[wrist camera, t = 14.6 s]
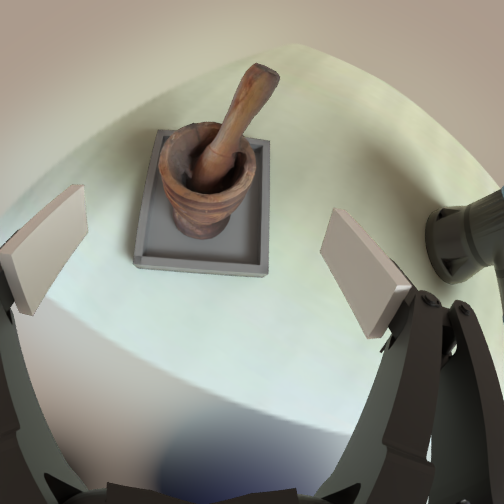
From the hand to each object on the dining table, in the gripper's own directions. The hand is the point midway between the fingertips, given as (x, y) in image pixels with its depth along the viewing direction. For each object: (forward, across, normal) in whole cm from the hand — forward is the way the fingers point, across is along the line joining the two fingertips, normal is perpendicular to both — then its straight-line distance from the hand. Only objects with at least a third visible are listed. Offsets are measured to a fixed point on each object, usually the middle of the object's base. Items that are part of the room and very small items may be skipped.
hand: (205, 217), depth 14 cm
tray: (+22, 0, -8) cm, 24 cm away
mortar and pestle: (+22, 0, -8) cm, 23 cm away
